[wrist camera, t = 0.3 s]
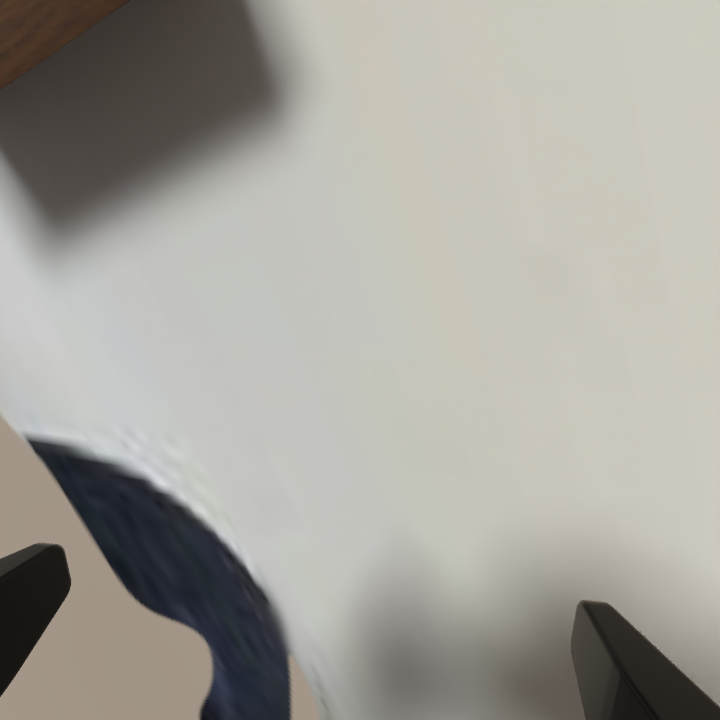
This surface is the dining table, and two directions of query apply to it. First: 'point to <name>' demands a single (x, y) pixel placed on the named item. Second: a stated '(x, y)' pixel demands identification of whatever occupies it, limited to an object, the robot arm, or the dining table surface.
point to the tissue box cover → (43, 30)
